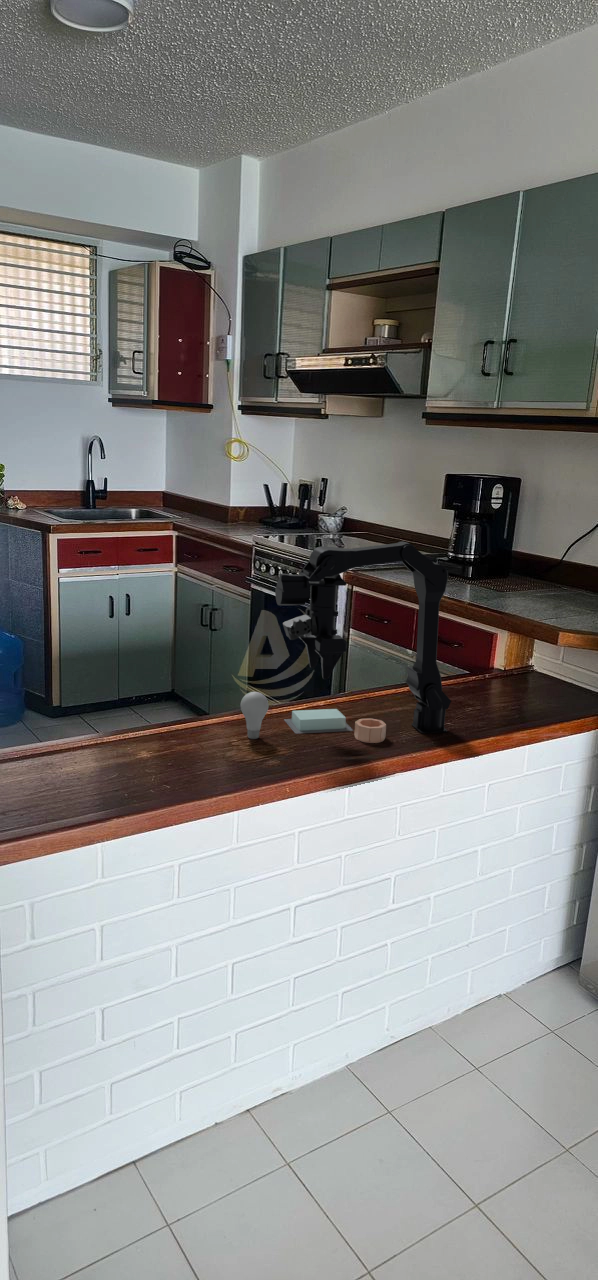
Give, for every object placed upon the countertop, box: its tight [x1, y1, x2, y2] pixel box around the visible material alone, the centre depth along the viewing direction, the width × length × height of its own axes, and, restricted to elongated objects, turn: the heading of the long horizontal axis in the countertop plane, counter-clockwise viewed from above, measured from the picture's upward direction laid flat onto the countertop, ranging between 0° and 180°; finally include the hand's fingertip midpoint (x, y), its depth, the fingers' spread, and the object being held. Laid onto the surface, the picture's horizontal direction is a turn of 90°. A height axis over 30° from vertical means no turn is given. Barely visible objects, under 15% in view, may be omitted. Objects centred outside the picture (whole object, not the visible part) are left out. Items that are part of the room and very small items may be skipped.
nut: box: [353, 718, 387, 744], centre depth 196 cm, size 7×7×4 cm
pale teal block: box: [291, 708, 347, 731], centre depth 202 cm, size 11×7×3 cm, turn 106°
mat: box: [283, 718, 355, 735], centre depth 203 cm, size 14×10×1 cm
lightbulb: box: [240, 691, 270, 740], centre depth 191 cm, size 6×6×11 cm
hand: (318, 673), depth 194 cm, fingers open, 9 cm apart
